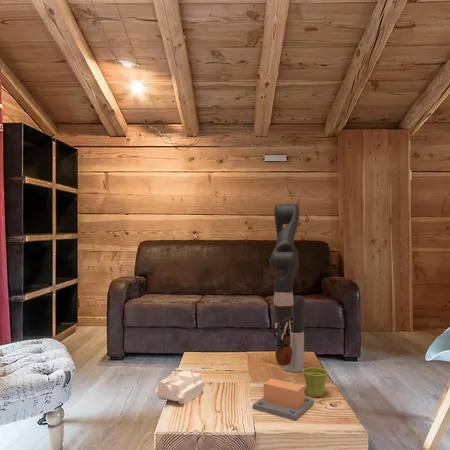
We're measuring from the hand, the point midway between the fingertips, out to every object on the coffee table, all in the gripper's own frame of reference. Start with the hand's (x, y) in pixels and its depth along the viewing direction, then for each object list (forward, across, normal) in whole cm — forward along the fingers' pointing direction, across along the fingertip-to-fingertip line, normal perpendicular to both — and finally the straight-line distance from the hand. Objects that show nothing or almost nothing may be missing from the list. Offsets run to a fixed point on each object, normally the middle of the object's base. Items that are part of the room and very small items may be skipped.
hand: (283, 346), depth 153 cm
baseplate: (+17, +13, +6) cm, 22 cm away
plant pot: (+18, -4, +11) cm, 21 cm away
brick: (+16, +12, +6) cm, 21 cm away
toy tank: (+17, +28, -30) cm, 44 cm away
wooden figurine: (+7, 0, 0) cm, 7 cm away
